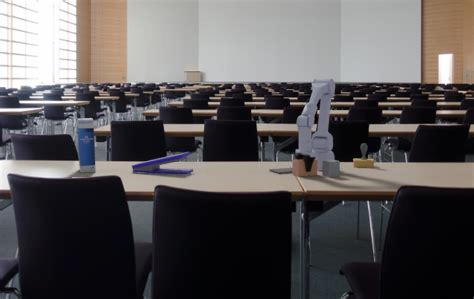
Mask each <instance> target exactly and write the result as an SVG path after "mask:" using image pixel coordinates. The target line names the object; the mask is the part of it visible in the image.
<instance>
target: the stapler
mask: <svg viewBox="0 0 474 299" xmlns="http://www.w3.org/2000/svg"><path fill="white" fill-rule="evenodd" d="M190 155H191V152H190V151H186V152H183V153H176V154H173V155H168V156H164V157H159V158H155V159H150V160H147V161H141V162H138V163H135V164H132V165H131V169H132V173H133V172H146V173H145V174H163V173H164V174H166V175H167V174H169V175H188V174H190V173H192V172H194V168H175V167H174V168H170V167H161V165H162V166H163V165H167V164H173V163H176V162H180V161H183V160H186V159H187V157H188V156H190Z"/></svg>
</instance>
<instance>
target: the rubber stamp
mask: <svg viewBox="0 0 474 299" xmlns="http://www.w3.org/2000/svg"><path fill="white" fill-rule="evenodd" d="M360 151H361V154H362V157H361V158H353V159H352V160H353V163H352V164H353V168H375V160H374V159H373V158H367V157H366V154H367V151H368V145H367V143H361V144H360Z"/></svg>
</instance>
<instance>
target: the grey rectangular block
mask: <svg viewBox="0 0 474 299" xmlns="http://www.w3.org/2000/svg"><path fill="white" fill-rule="evenodd" d="M340 167H341V161H339V160H336V159H334V160H323V162H322V171H321V172H322V173H321V176H322V177H326V178H338V177H339V178H340V176H341V175H340V174H341V168H340Z"/></svg>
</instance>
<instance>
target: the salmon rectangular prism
mask: <svg viewBox="0 0 474 299" xmlns="http://www.w3.org/2000/svg"><path fill="white" fill-rule="evenodd" d="M317 161H318V160H316V159H315V160H314V162H313V164H312V168H311V172H306V169H305V162H304V159H296V158H295V159H292V162H291V163H292V166H291V168H292V173H291V174H292V175H293V176H295V177H309V176H308V175H310V176H318V170H317Z"/></svg>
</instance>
